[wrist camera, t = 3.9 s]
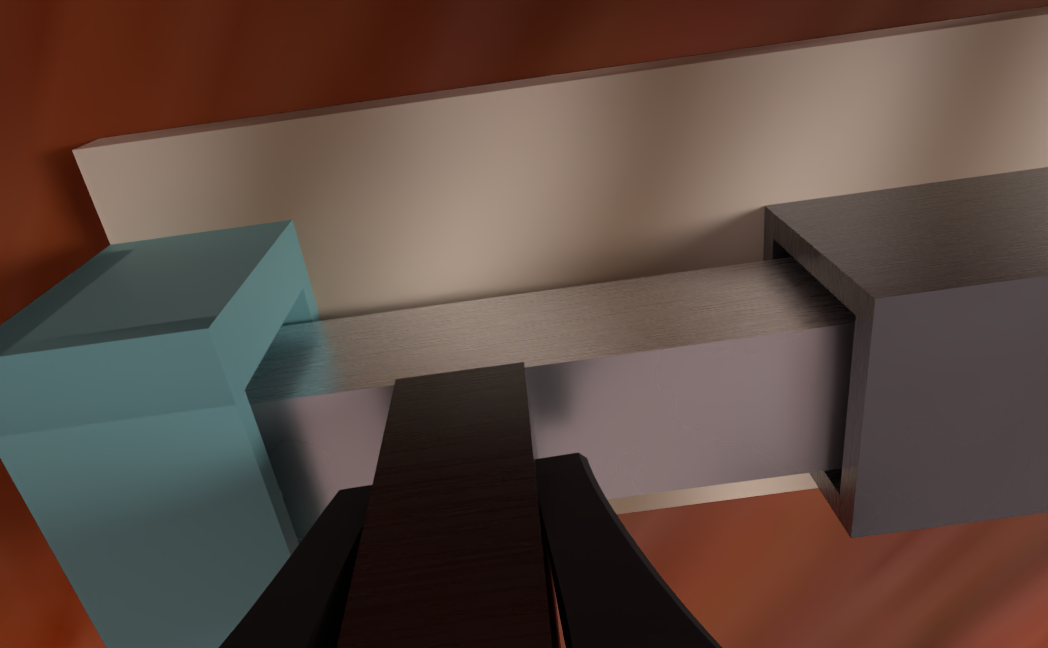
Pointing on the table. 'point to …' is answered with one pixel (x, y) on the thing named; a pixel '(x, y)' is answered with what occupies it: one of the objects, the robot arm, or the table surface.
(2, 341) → the bracket socket
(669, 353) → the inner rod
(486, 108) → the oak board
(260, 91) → the table surface
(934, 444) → the outer sleeve
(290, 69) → the table surface
